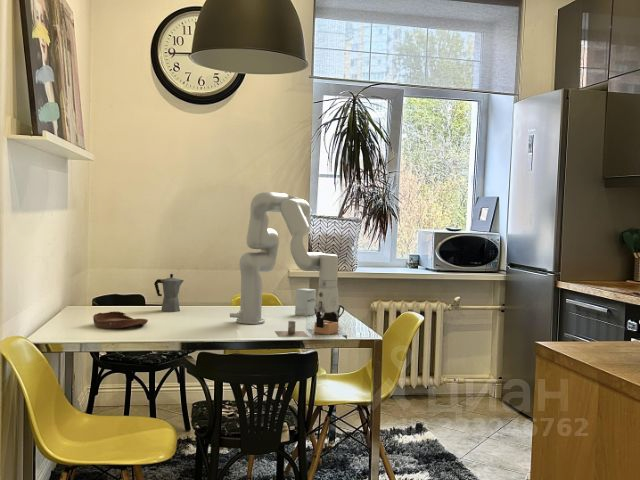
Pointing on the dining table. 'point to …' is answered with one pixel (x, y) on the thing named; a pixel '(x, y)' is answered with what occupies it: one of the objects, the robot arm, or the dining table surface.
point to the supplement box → (305, 302)
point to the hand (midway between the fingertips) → (326, 325)
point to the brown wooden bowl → (116, 320)
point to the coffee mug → (327, 315)
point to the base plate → (328, 334)
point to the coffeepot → (169, 293)
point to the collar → (327, 327)
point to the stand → (291, 331)
